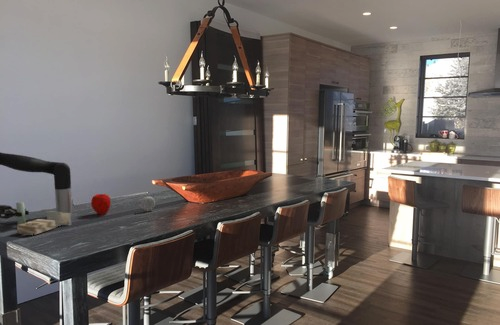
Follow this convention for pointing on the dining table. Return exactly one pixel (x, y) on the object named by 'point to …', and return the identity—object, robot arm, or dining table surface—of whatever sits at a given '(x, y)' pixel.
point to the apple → (101, 203)
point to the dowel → (21, 209)
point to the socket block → (36, 226)
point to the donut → (145, 200)
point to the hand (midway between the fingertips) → (24, 213)
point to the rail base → (58, 218)
